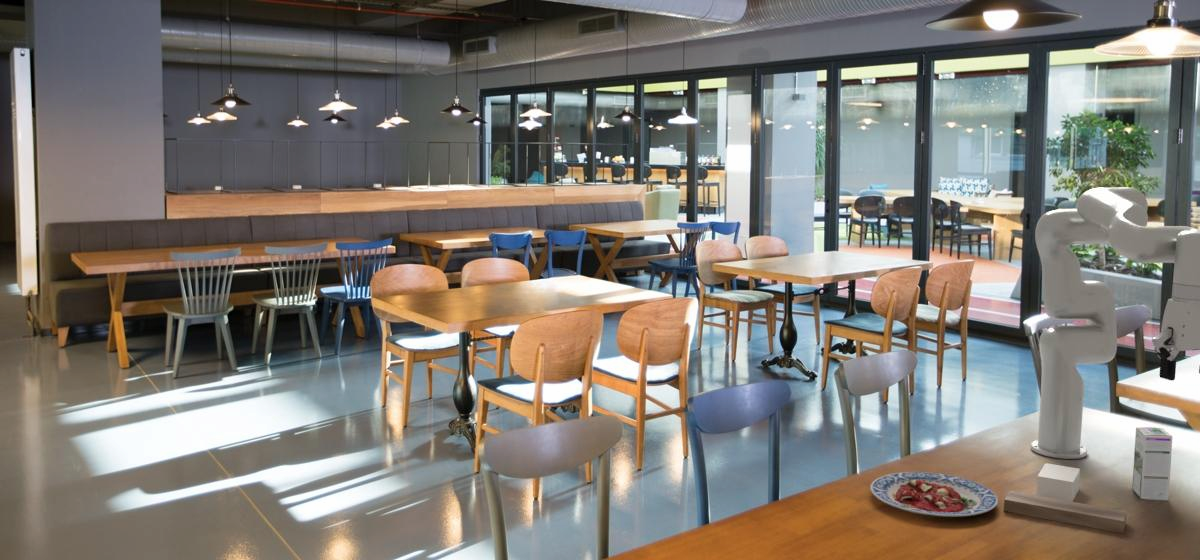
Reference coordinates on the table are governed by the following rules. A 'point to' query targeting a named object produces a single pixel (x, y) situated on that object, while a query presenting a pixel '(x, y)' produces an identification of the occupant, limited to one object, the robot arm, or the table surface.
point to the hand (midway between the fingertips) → (1186, 377)
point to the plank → (1066, 511)
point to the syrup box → (1152, 463)
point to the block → (1058, 482)
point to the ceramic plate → (934, 494)
